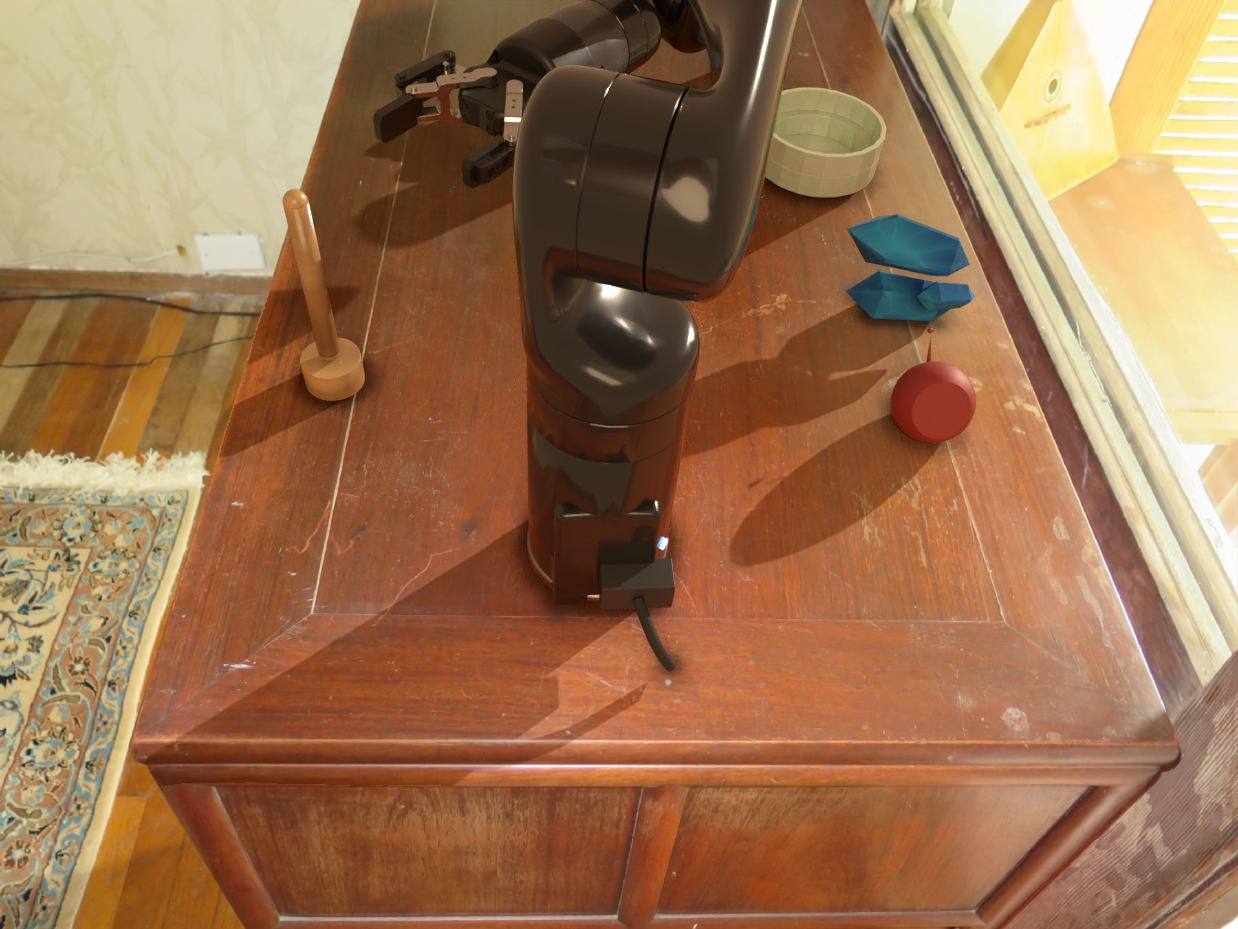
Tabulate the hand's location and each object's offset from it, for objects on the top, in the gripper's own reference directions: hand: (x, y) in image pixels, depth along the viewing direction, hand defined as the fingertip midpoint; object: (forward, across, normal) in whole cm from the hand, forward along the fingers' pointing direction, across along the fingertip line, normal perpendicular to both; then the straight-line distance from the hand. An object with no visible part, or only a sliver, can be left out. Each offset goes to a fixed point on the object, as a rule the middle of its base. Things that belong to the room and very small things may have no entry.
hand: (421, 152), depth 71 cm
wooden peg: (+11, 0, +14) cm, 18 cm away
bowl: (-38, +14, +14) cm, 43 cm away
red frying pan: (-14, +37, +14) cm, 42 cm away
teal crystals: (-24, +30, +14) cm, 41 cm away
